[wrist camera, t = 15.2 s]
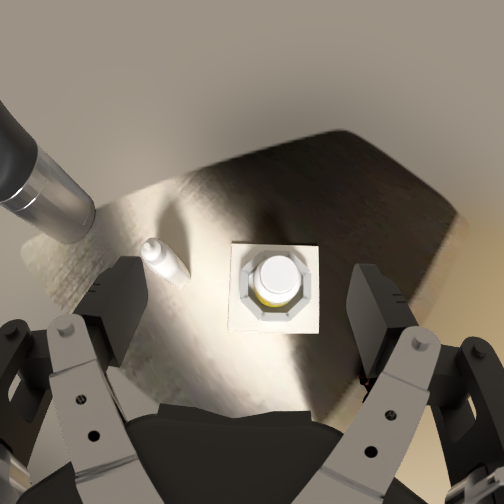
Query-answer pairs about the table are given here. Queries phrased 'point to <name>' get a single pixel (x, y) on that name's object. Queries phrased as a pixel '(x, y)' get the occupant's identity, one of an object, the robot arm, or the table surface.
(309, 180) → the table surface
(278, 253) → the barrel socket
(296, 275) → the supplement bottle
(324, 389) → the table surface
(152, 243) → the eye dropper bottle
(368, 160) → the table surface
